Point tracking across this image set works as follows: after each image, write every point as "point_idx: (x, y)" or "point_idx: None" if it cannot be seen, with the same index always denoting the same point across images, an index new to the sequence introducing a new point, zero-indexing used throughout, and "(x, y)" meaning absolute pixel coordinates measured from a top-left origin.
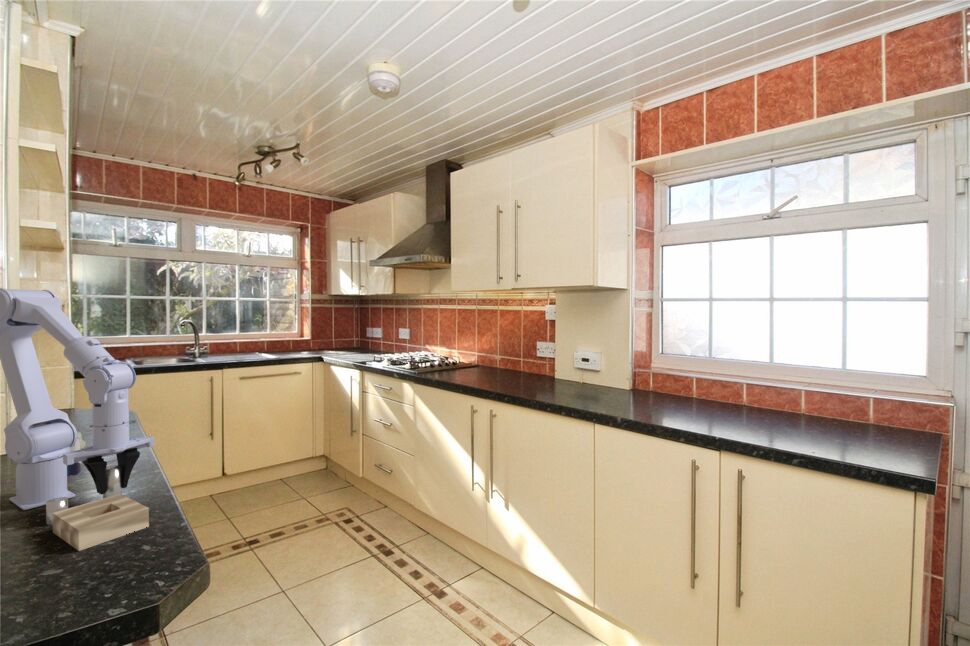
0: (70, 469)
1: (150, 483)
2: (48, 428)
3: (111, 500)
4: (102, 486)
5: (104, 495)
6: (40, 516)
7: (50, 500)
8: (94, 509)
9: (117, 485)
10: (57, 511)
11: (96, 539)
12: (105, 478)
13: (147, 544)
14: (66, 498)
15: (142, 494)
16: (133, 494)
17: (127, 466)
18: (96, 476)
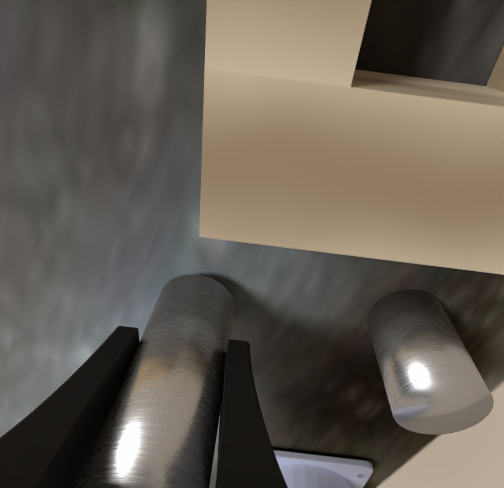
0: None
1: (13, 368)
2: None
3: (307, 152)
4: (244, 377)
5: (228, 337)
6: (386, 398)
7: (453, 425)
8: (472, 99)
9: (162, 349)
10: (449, 339)
11: None
12: (208, 432)
13: None
14: (411, 394)
15: (67, 294)
16: (96, 324)
17: (34, 464)
18: (278, 470)
